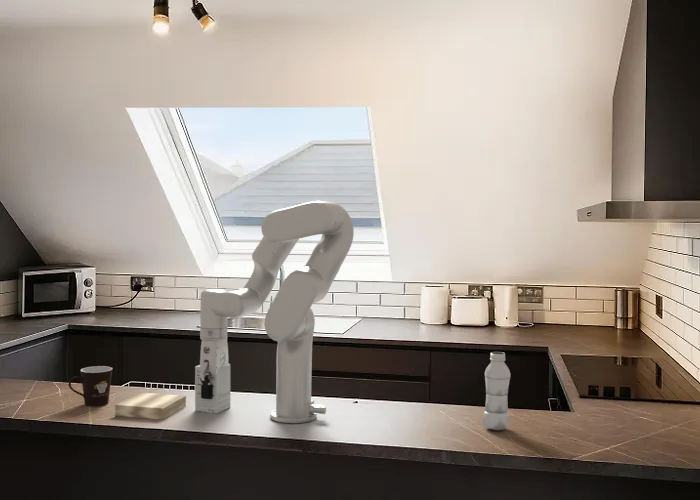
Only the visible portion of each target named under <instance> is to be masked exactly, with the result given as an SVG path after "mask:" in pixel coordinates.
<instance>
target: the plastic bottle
mask: <svg viewBox="0 0 700 500" xmlns="http://www.w3.org/2000/svg"><path fill="white" fill-rule="evenodd" d="M489 357H490V358H489V360H490V363H489V364H488V366H486V368H485V371H484V381H485V393H486V394H485V406H484V411H483V415H482V422H483V425H484V427H485V428H486V429H488V430H491V431H492V430H493V431H503V430H507V428H508V427H509V424H510V415H509V409H508V408H509V407H508V393H509V385H510V380H511V372H510V369H509V367H508V365H507V364H506V363H505V361H506V353H505V352H502V351H492V352H490V356H489Z"/></svg>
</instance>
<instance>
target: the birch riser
mask: <svg viewBox="0 0 700 500" xmlns="http://www.w3.org/2000/svg"><path fill="white" fill-rule="evenodd" d="M186 406H187V396H186V395H182V394H181V395H180V394H167V393H166V394H165V393H153V392H152V393H151V392H139V393H137V394H134V395H133V396H131V397H129V398H127V399H124V400H122V401H121V402H118V403H117V404H115V405H114V407H115V408H114V410H115V411H114V412H115V413H114V415H115V416H116V417H126V418H139V419H149V420H161V421H162V420H164V419H167V418H168V417H170V416H172V415H173V414H175V413H176V412H178V411H180V410H182V409H184V408H186Z"/></svg>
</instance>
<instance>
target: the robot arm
mask: <svg viewBox="0 0 700 500" xmlns="http://www.w3.org/2000/svg"><path fill="white" fill-rule="evenodd" d="M354 230H355V229H354V224H353V220H352V219H351V216H350V214H349V213H348V212H347V210H346V209H345V208H344V207H343V206H341V205H340V204H338V203H336V202H332V201H321V200H316V201H309V202H305V203H301V204H298V205H294V206H290V207H286V208H281V209H277V210H274V211H271V212H269V213H267V215H266V216H265V217H264V218H263V220H262V222H261V233H262V238H261V239H260V241H259V243H258V244H257V246H256V248H255V249H254V250H253V252H252V254H251V258H252V261H253V265H254V266H253V267H254V268H253V271H252V274H251V276H250V277H249V279H248V280H247V282H246V283H245V285H244V286H243V288H241V289H236V290H232V291H230V290H229V291H226V290H224V289H221V288H220V289H219V288H209V289H205V290H202V291H201V292H200V310H199V311H200V313H199V314H200V321H199V322H200V326H199V327H200V330H199V336H200V337H199V338H200V340H201V345H200V354H199V355H200V357H199V358H200V359H199V365H200V372H199V375H200V380H201V398H202V399H212V398H213V385H212V384H211V383H212V374H214V376H216V375H217V371H218V369H219V368H220V367H222V366H223V365H225V364H229V343H228V325H229V324H228V322H229V321H228V319H239V318H243V317H246V316H248V315H251V314H252V315H253V314H254V313H256V312H257V311H258V310H259V309H260V308H261V307H262V306H263V304H264V303H265V301H266V300H267V299H268V296H270V294H271V292H272V290H273V288H274V287H275V284H276V281H277V277H278V274H279V271H280V269H281V267H282V266H283V265H284V263H285V261H286V259H287V258H288V256H289V255H290V254H291V251H292V250H293V249H294V248H295V246H296V245H297V243H298V241H299V240H300V239H303V238H308V237H311V236H316V235H321V237H320V240H319V241H318V243H317V244H316V246H314V248H313V250H312V252H311V254H310V256H309V258H308V259H307V262H306V263H305V265H304V266H303V267H302V268H301V269H300V268H299V269H296V270H294V271H292V272H290V273H289V274H288V275H287V276H286V278H285V279H284V280H283V282H282V283H281V285H280V287H279V288H278V290H277V293H276V295H275V297H274V299H273V301H272V302H271V305H270V306H269V308H268V310H267V312H266V315H265V317H264V331H265V332H266V334H267V336H268V337H269V338H271V340H273V341H275V342H277V345H276V346H277V348H276V372H275V373H276V384H275V386H276V388H275V389H276V390H275V392H276V396H275V403H276V404H275V406H276V407H275V409H273V410H272V411H271V412H270V414H269V415H270V419H271V420H273V421H275V422H278V423H282V424H283V423H284V424H301V423H308V422H311V421H314V420H316V418H317V414H318V415H319V414H320V415H325V414H326V413H327V407H326V406H325V405H323V404H317V403H315V398H313V399H312V370H313V369H312V368H313V367H312V364H313V363H312V362H313V361H312V360H313V359H312V358H313V341H314V339H313V338H314V332H315V325H316V324H315V320H316V319H315V314H314V312H313V309H312V308H311V307H312V305H313V304H316V303H318V302H320V301H322V300H323V299H324V298H325V297H326V296H327V294H328V292H329V291H330V287H331V286H332V284H333V282H334V281H335V279H336V277H337V275H338V273H339V271H340V269H341V267H342V265H343V263H344V262H345V259H346V257H347V255H348V254H349V252H350V249H351V247H352V244H353V240H354V236H355V234H354V232H355V231H354ZM208 368H209V369H210V372H211V373H206V371H207V369H208ZM207 376H210V377H209V379H208V377H207Z"/></svg>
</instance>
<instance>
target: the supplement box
mask: <svg viewBox="0 0 700 500" xmlns="http://www.w3.org/2000/svg"><path fill="white" fill-rule="evenodd" d="M194 370H195V371H194V374H195V375H194V390H195V391H194V410H195V411H197V412H204V413H208V414H209V413H210V414H218V413H220V412H223V411H224V410H228V409H229V408H231V363H228V364H225V365H223V366H222V367H220V368H219V369H218V371H217V375H216V376H214V374H212V383H211V384H212V385H213V398H212V399H202V398H201V380H200V375H199V372H200V364H198V365H196V366H194ZM206 373H211V372H210V369H209V368H208V369H207V371H206ZM207 377H208V379H209V377H210V376H207Z"/></svg>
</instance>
